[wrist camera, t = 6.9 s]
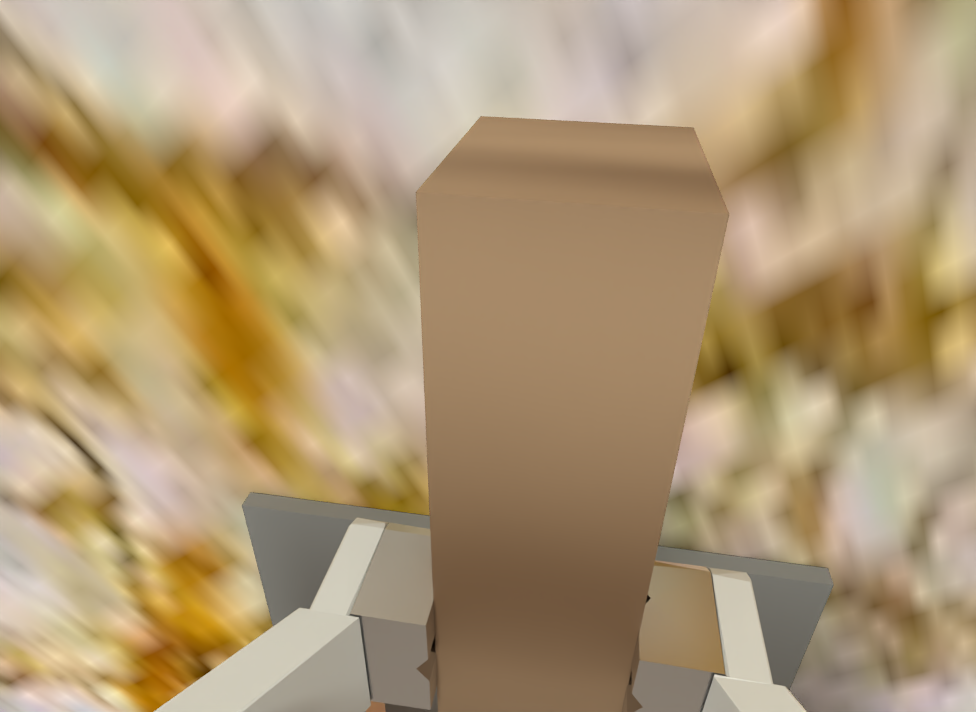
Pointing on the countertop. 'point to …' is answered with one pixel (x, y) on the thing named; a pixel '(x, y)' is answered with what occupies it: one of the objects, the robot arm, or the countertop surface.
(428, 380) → the turner
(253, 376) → the countertop surface
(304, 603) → the gray rectangular plate
